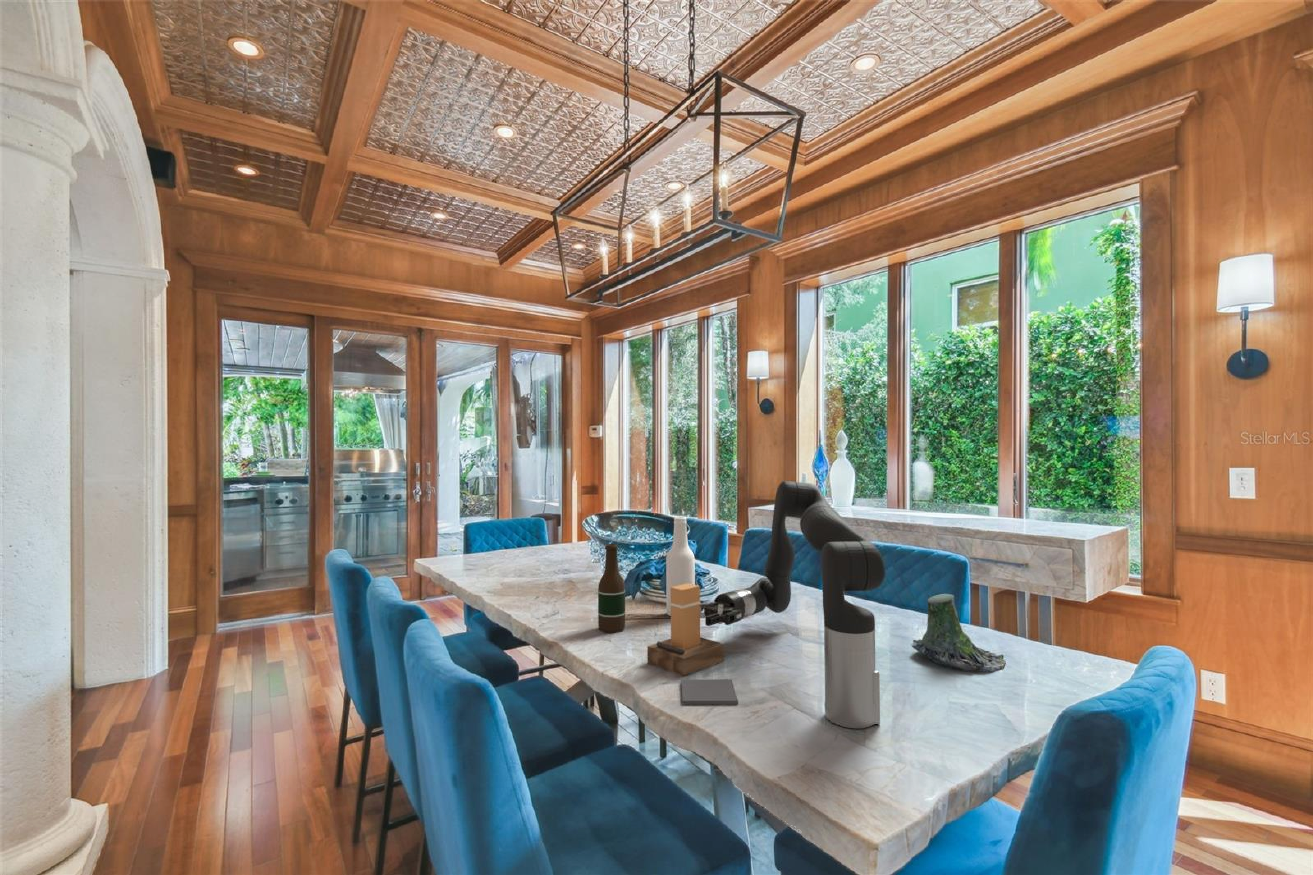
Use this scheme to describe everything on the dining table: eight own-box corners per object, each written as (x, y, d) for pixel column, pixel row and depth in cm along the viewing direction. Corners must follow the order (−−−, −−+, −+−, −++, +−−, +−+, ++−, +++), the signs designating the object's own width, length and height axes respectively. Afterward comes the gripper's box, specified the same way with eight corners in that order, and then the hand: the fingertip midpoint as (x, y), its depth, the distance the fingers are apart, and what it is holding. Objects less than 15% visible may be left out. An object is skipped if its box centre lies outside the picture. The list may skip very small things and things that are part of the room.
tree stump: (1024, 677, 134) (1005, 600, 134) (935, 696, 136) (915, 620, 135) (986, 645, 152) (969, 578, 152) (908, 662, 154) (890, 595, 154)
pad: (731, 683, 130) (731, 679, 130) (737, 704, 119) (737, 700, 119) (681, 683, 130) (681, 679, 130) (682, 704, 119) (682, 700, 119)
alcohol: (661, 613, 185) (661, 516, 186) (686, 610, 189) (686, 515, 190) (674, 620, 177) (673, 519, 178) (700, 617, 181) (699, 518, 182)
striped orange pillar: (670, 663, 143) (670, 587, 143) (688, 656, 147) (687, 583, 147) (683, 667, 140) (682, 590, 140) (700, 660, 144) (700, 585, 144)
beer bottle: (630, 627, 171) (630, 543, 171) (615, 635, 164) (615, 547, 165) (608, 623, 175) (608, 541, 175) (592, 630, 168) (592, 545, 169)
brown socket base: (647, 663, 143) (647, 641, 143) (687, 648, 152) (687, 628, 153) (684, 676, 134) (684, 653, 134) (723, 660, 144) (723, 638, 144)
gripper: (714, 586, 162) (672, 597, 151) (757, 595, 152) (715, 607, 140) (714, 614, 162) (672, 627, 150) (757, 625, 151) (715, 640, 140)
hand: (693, 618), depth 145 cm, fingers open, 8 cm apart
